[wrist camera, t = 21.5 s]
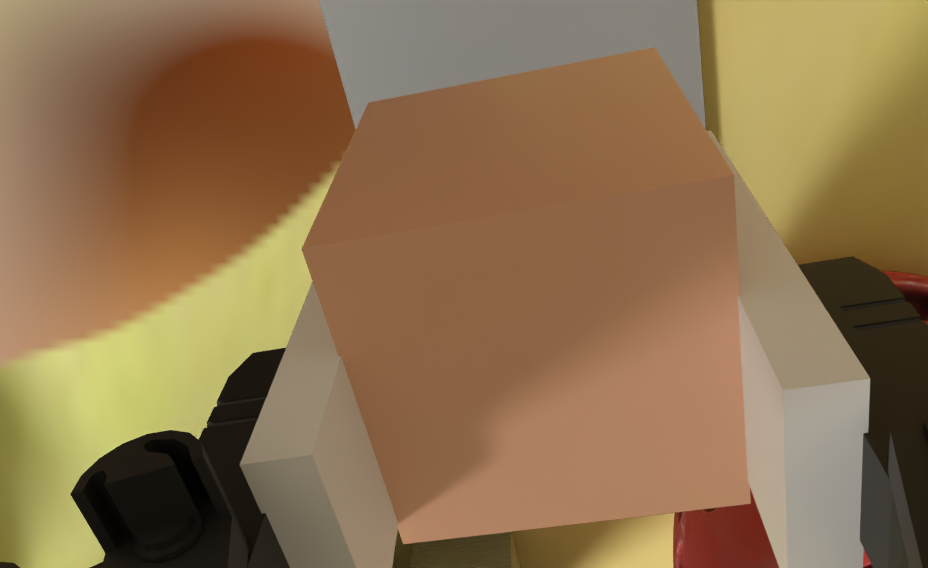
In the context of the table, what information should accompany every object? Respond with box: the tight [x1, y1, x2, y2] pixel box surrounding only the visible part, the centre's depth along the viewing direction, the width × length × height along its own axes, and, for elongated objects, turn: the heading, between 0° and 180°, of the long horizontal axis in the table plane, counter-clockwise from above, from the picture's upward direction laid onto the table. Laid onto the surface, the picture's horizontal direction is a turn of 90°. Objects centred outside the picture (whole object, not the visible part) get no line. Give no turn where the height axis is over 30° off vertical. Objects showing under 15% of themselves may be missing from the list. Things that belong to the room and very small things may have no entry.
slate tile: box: [319, 0, 706, 129], centre depth 24 cm, size 10×10×1 cm
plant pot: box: [673, 271, 928, 568], centre depth 24 cm, size 13×13×12 cm
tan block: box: [302, 47, 751, 544], centre depth 12 cm, size 4×4×5 cm
